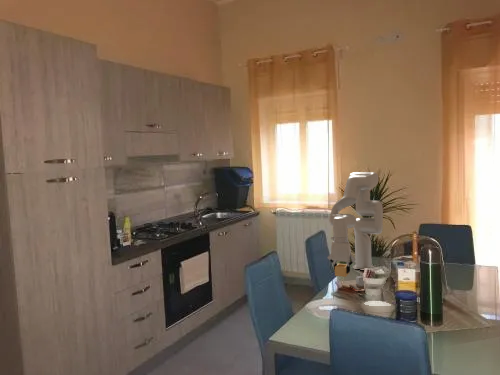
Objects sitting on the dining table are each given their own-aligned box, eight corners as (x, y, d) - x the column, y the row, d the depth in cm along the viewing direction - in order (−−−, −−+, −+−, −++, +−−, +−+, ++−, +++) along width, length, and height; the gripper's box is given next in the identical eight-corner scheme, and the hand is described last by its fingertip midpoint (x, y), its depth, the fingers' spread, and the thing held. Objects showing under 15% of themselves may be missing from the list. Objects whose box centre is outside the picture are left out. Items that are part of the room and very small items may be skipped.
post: (356, 285, 211) (355, 276, 211) (361, 285, 212) (360, 275, 212) (358, 287, 208) (358, 278, 208) (364, 286, 209) (363, 277, 209)
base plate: (349, 287, 213) (349, 284, 213) (362, 285, 215) (362, 283, 215) (357, 292, 205) (357, 289, 205) (371, 290, 207) (371, 287, 207)
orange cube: (335, 275, 216) (334, 266, 215) (338, 272, 221) (338, 263, 221) (346, 276, 213) (345, 267, 212) (349, 273, 218) (348, 264, 218)
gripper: (322, 240, 216) (324, 272, 218) (354, 242, 207) (355, 276, 209) (327, 237, 223) (328, 268, 224) (358, 239, 214) (359, 271, 216)
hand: (341, 271), depth 217 cm, fingers closed on orange cube, 6 cm apart
